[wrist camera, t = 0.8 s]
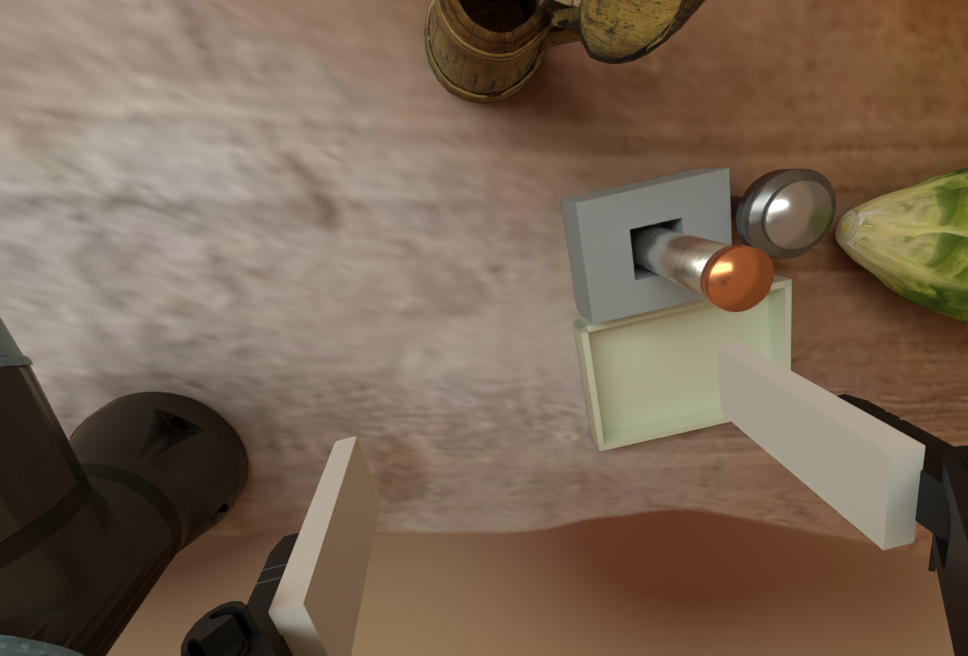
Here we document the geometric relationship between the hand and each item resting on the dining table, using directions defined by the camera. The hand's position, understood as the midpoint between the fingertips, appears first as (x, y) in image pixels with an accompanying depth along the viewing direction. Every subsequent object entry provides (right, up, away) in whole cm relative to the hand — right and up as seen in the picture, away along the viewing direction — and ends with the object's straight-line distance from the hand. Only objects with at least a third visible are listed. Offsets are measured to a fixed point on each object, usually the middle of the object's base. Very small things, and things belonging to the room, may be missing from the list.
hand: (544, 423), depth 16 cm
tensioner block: (+11, +11, +25) cm, 30 cm away
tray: (+17, 0, +29) cm, 34 cm away
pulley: (+20, +14, +24) cm, 35 cm away
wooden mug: (0, +25, +19) cm, 32 cm away
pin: (+11, +11, +24) cm, 29 cm away
